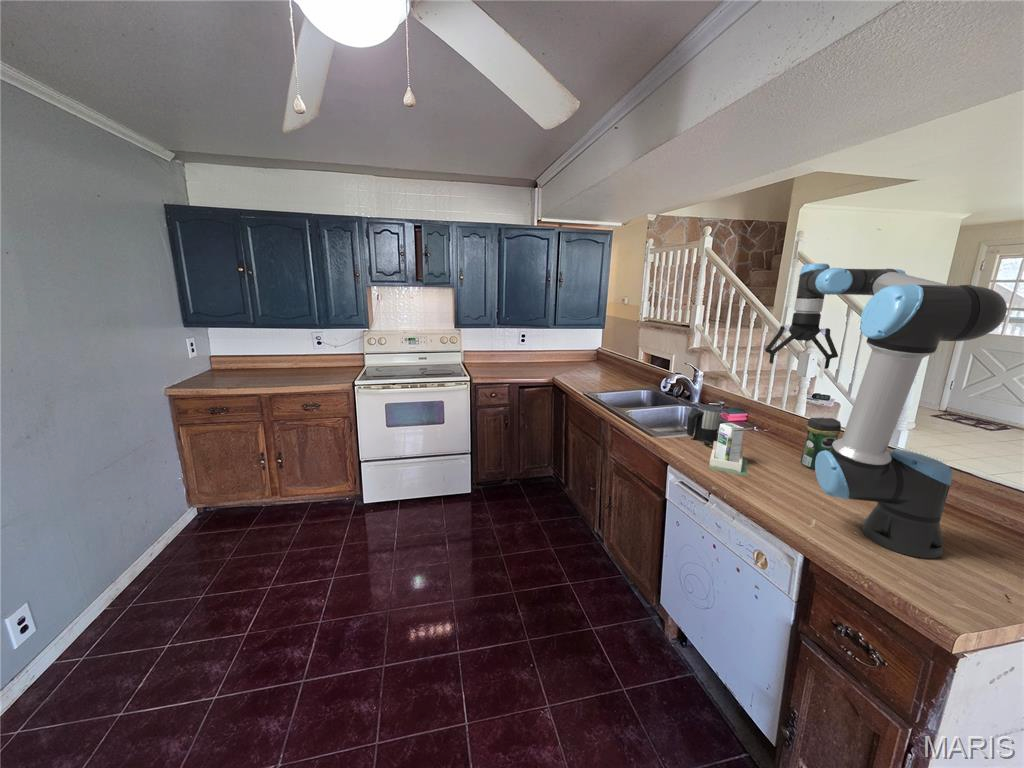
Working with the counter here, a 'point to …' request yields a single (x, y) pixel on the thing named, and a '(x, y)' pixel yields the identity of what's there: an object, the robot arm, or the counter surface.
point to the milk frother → (704, 423)
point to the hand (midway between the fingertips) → (795, 375)
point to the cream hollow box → (723, 463)
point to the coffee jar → (819, 438)
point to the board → (743, 471)
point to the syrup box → (729, 442)
